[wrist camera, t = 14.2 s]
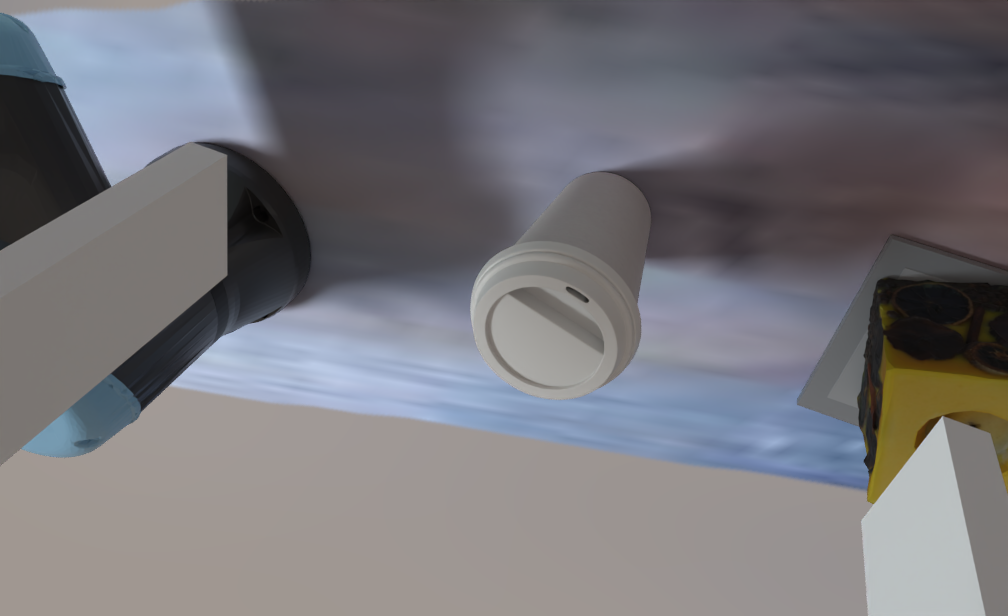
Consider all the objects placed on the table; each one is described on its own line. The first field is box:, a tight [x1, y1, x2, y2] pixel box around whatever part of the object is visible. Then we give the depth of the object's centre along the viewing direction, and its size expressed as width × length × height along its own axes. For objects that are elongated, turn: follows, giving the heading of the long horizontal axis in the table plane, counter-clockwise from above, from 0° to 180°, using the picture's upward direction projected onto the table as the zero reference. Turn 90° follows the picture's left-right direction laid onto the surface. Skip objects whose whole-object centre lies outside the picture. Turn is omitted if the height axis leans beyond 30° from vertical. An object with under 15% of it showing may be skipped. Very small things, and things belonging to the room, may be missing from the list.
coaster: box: [797, 235, 1008, 426], centre depth 51 cm, size 14×14×1 cm
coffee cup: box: [470, 172, 651, 400], centre depth 47 cm, size 10×10×15 cm
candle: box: [857, 277, 1008, 504], centre depth 46 cm, size 10×10×10 cm
